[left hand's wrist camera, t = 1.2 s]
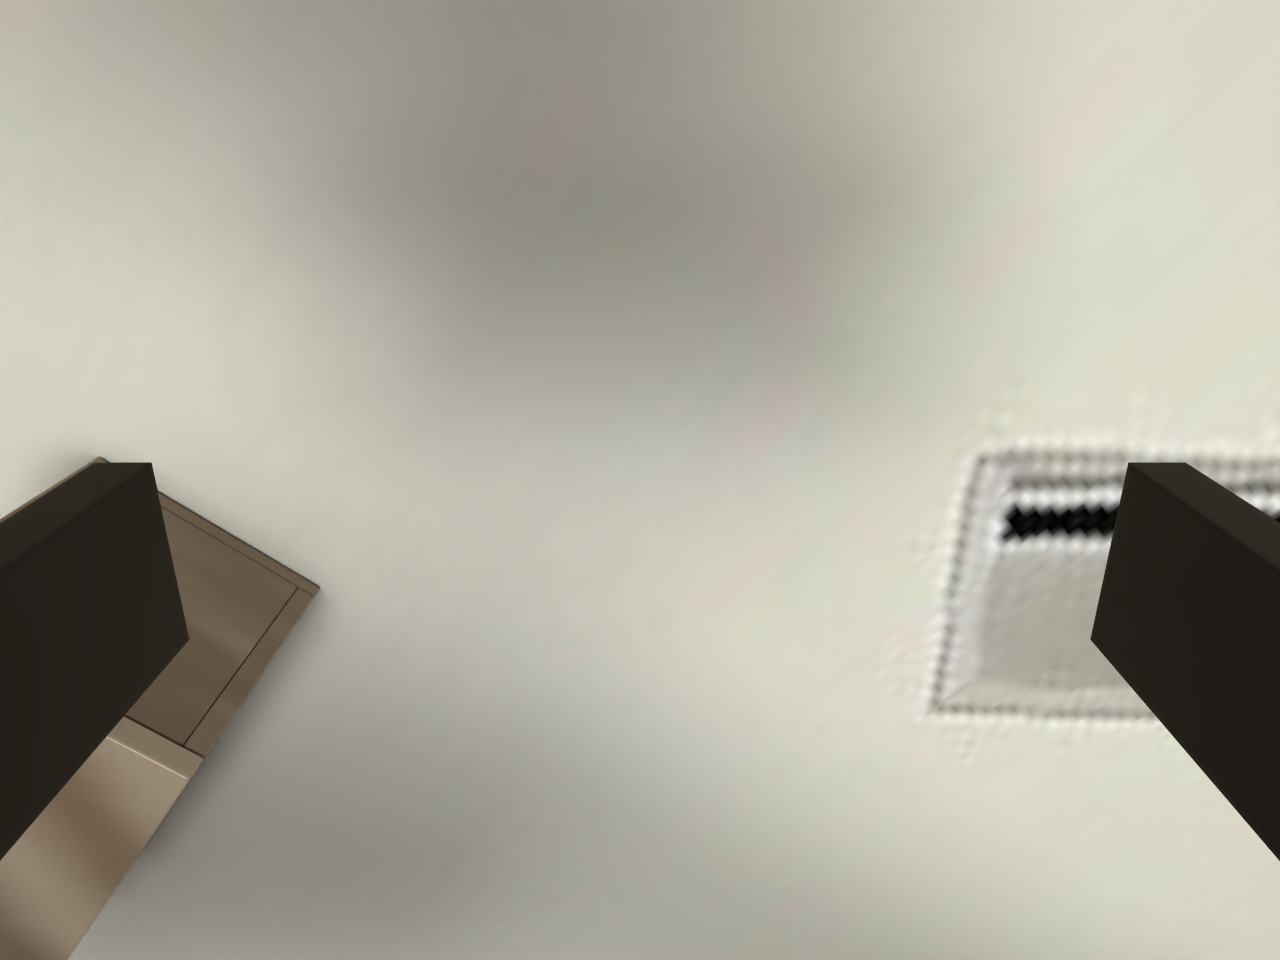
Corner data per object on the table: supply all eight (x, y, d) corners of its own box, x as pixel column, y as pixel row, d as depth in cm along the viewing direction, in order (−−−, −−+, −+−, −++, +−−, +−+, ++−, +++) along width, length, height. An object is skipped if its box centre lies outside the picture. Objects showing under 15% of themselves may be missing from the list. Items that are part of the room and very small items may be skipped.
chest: (138, 854, 42) (-13, 1077, 32) (-65, 754, 40) (-291, 960, 30) (320, 587, 37) (206, 756, 27) (98, 456, 35) (-113, 588, 25)
